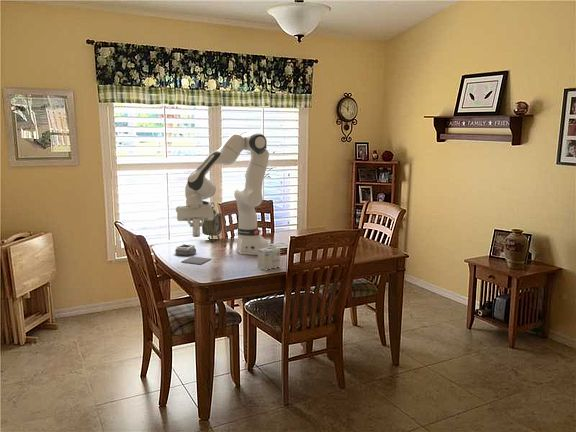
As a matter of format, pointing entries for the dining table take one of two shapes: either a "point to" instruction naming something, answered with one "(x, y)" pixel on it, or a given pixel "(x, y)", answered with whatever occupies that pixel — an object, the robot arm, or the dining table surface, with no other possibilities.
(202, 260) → the mat
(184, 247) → the chuck block
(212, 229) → the tabletop clock
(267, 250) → the light bulb box
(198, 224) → the key rod
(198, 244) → the dining table surface
